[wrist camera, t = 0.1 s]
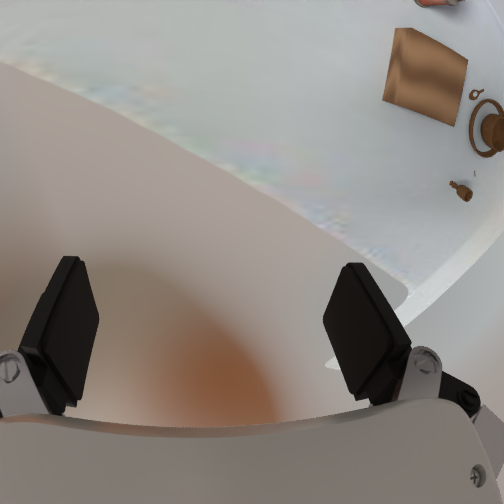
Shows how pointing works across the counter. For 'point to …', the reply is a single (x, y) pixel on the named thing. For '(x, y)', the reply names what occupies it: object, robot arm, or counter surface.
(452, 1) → the lighter
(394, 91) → the walnut base
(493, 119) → the place setting
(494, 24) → the counter surface
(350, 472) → the robot arm
